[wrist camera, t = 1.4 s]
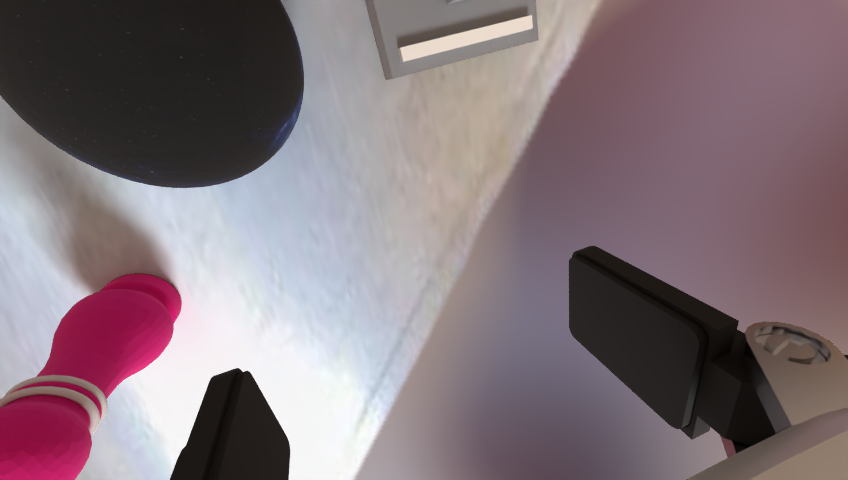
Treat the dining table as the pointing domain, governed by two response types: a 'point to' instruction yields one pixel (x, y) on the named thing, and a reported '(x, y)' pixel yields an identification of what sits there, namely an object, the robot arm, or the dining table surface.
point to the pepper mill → (83, 376)
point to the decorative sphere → (155, 83)
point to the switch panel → (446, 30)
